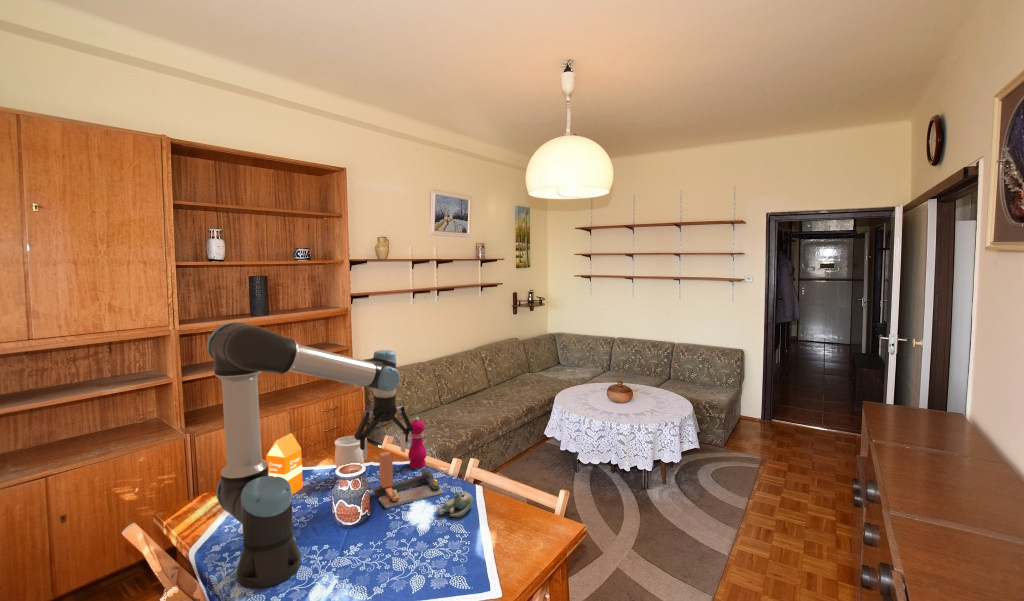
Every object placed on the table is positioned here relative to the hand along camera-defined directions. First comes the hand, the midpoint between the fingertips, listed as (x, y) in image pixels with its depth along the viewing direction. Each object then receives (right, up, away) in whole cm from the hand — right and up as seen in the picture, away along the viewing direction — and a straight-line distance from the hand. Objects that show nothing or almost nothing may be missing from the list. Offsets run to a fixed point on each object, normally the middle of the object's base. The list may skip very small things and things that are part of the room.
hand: (384, 454), depth 170 cm
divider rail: (+8, -14, +2) cm, 16 cm away
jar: (-16, -13, +12) cm, 24 cm away
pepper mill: (+7, -12, +25) cm, 28 cm away
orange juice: (-36, -14, +2) cm, 38 cm away
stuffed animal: (+26, -15, -11) cm, 32 cm away
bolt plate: (+10, -14, -1) cm, 17 cm away
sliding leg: (+3, -13, -2) cm, 13 cm away
